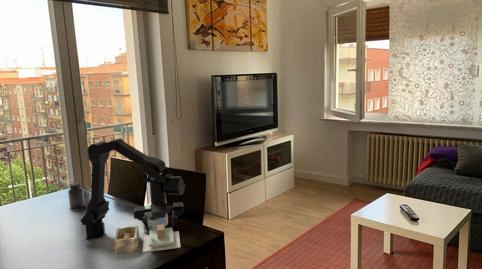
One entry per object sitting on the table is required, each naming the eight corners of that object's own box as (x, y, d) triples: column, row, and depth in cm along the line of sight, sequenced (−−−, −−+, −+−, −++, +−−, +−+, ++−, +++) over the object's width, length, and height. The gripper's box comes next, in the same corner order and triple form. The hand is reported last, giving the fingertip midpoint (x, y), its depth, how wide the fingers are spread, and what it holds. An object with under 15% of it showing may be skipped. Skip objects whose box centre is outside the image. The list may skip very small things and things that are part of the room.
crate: (115, 253, 136) (113, 241, 136) (118, 239, 148) (117, 227, 147) (137, 250, 138) (136, 238, 137) (139, 236, 150) (138, 225, 149)
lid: (149, 250, 137) (147, 235, 136) (150, 235, 150) (148, 222, 149) (174, 246, 139) (173, 232, 138) (172, 232, 152) (171, 219, 151)
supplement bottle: (77, 203, 192) (74, 181, 190) (87, 204, 189) (85, 182, 187) (67, 208, 185) (64, 185, 183) (77, 209, 183) (75, 186, 181)
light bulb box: (158, 233, 152) (156, 209, 150) (143, 233, 153) (141, 208, 151) (168, 223, 162) (167, 200, 160) (154, 222, 164) (152, 199, 162)
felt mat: (142, 252, 137) (142, 251, 136) (144, 236, 150) (144, 235, 150) (180, 247, 139) (180, 246, 139) (178, 232, 153) (178, 231, 153)
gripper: (131, 202, 132) (134, 243, 134) (183, 197, 135) (186, 236, 138) (133, 192, 142) (136, 230, 145) (181, 188, 146) (184, 225, 149)
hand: (160, 231), depth 144 cm, fingers open, 9 cm apart
